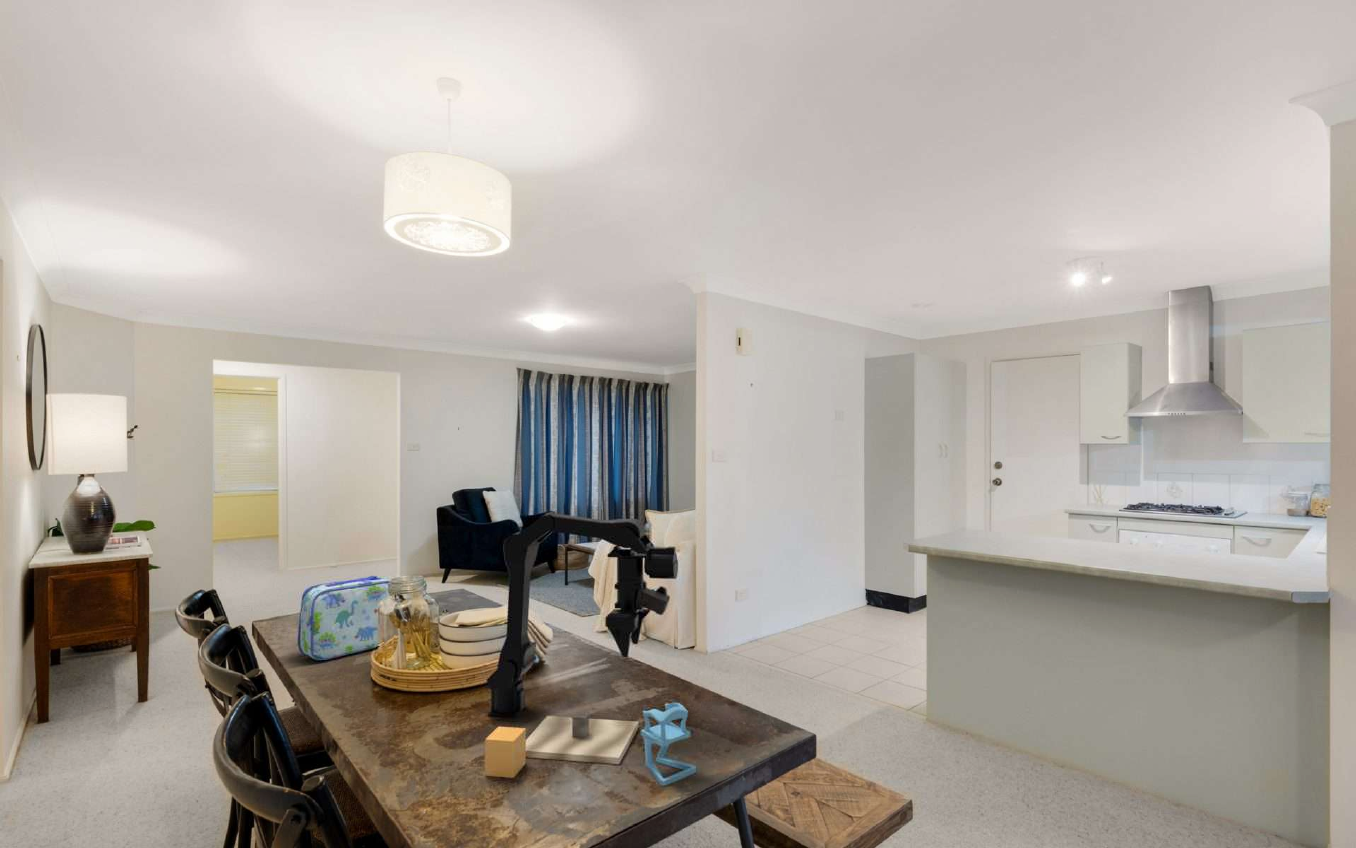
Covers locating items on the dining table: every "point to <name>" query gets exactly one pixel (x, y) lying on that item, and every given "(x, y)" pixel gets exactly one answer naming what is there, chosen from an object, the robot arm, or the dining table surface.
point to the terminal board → (581, 739)
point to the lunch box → (340, 617)
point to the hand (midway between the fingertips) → (630, 650)
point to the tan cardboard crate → (505, 752)
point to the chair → (666, 740)
